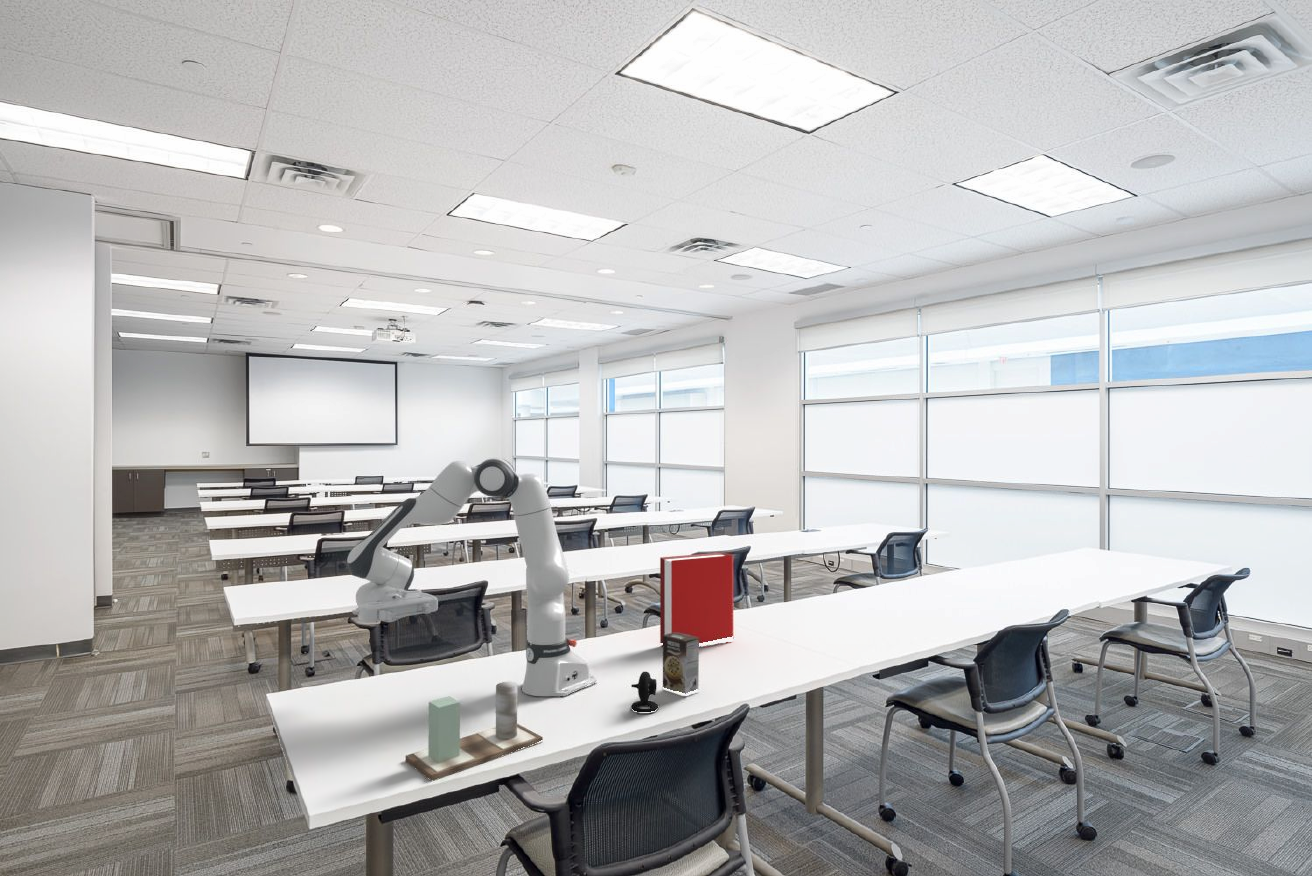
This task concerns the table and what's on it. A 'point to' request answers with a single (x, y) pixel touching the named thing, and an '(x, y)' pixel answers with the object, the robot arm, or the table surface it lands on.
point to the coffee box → (680, 662)
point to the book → (697, 595)
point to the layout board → (482, 740)
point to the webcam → (645, 693)
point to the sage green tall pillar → (444, 729)
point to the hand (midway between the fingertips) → (410, 613)
